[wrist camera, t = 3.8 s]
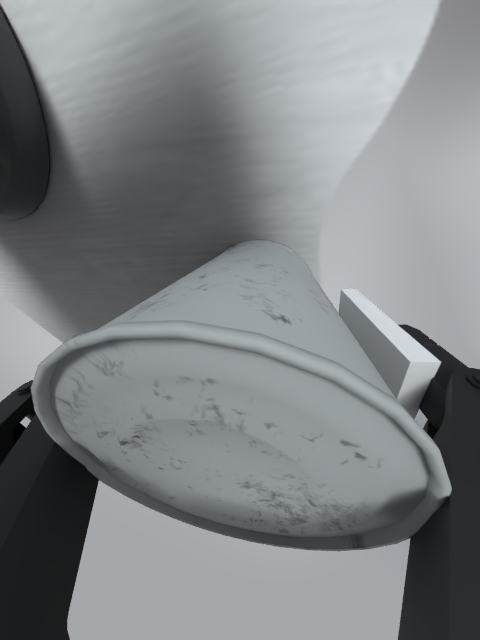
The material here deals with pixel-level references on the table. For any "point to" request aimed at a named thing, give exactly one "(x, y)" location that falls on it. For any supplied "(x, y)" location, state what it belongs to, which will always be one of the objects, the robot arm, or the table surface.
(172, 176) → the table surface
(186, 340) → the grey marbled cylinder
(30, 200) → the robot arm
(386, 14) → the table surface
